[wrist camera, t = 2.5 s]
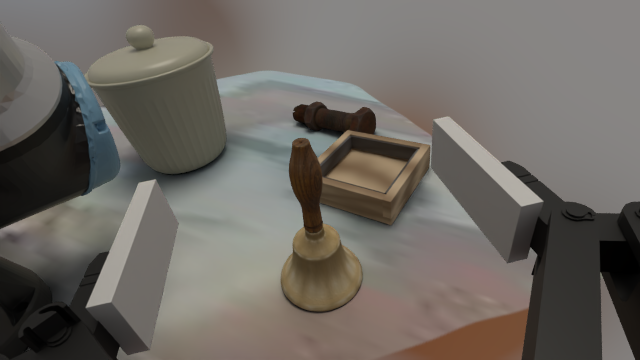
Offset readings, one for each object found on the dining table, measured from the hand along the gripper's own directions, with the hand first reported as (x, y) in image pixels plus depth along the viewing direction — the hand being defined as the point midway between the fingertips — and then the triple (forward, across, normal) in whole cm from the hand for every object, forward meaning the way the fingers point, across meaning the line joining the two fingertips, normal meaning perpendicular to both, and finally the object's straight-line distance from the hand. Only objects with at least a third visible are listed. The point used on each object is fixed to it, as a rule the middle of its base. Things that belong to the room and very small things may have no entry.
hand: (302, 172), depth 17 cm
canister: (+41, -17, -20) cm, 49 cm away
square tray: (+24, +9, -20) cm, 32 cm away
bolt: (+40, +7, -20) cm, 45 cm away
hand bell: (+10, 0, -20) cm, 22 cm away
